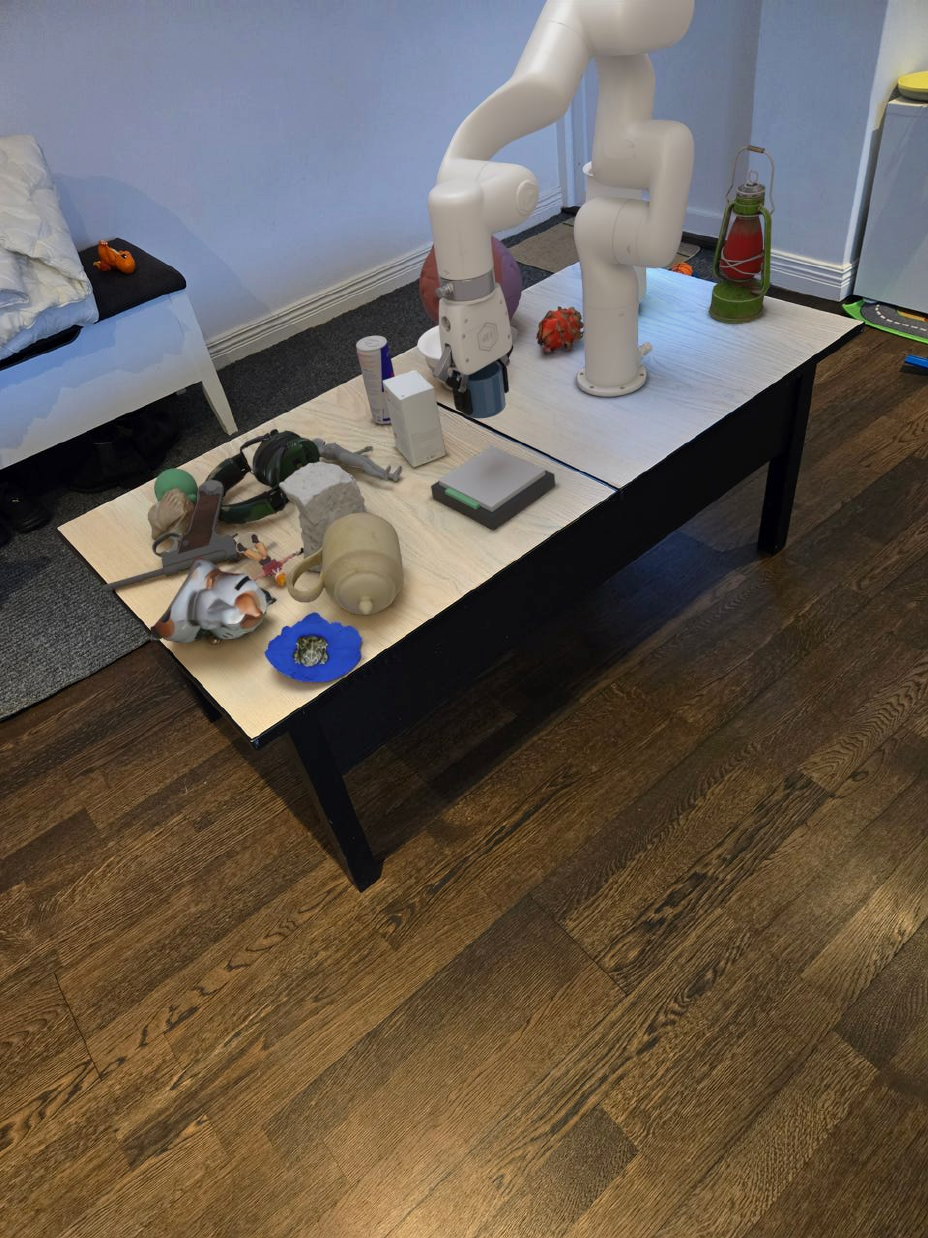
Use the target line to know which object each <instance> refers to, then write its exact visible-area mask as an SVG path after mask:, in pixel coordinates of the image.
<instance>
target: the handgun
mask: <svg viewBox="0 0 928 1238" xmlns="http://www.w3.org/2000/svg"><path fill="white" fill-rule="evenodd" d="M223 495H224V488H223V485H222V483H221V482H219V481H216V480H208V481H206V482H205V481H204V482H202V483H201V484H200V485H199V486H198V490H197V501H196V504H195V510H194V514H193V517H192V521H191V524H190V527H189V530H188V532H187V534H186V535H179V534H177V533H166V534H164V535H163V536H161V537H160V538H158V539H157V540H153V543H152V544H151V550H152V552H153V553H154V555H155V556H157V557H160V558H161V559H160V561H161V565H162V567H161V568H158V569H154V570H151V571H148V572H144V573H141V574H137V575H134V576H130V577H127V578H124V579H120V580H116V581H112V582H109V583H107V584H103V585H101V589H102V591H103V592H104V593H106V594H108V595H110V596H112V594H113V592H115V590H117V589H120V588H123V587H127V586H130V585H135V584H138V583H141V582H144V581H148V580H151V579H155V578H158V577H161V576H166V577H170V576H171V577H172V576H175V575H179V573H181V572H184V571H188V570H190V568H191V565H192V562H193V560H194V559H195V558H199V557H201V558H205V559H207V560H209V561H210V562H212V563H213V564H215V563H219V562H223V561H226V560H229V562H230V563H232V562H240V560H241V557H242V556H245V555H244V553H245V552H244V553H239V552H237V551H236V544H237V542H236V540H235V539H234V538H236V537H238V536H239V534H238V533H237V532H236V533H235V534H234V533H233V535H231V534H218V533H217V525H218V521H219V520H218V516H219V512H220V508H221V504H223V501H224V498H223ZM222 500H223V501H222ZM175 536H176V537H179V538H180V540H181V541H178V540H177V539H176V538H175ZM168 538H172V539H173V540H174V541H173V545H172V547H171V548H170V550H169V551H166V550H165V551H161V552H157V548H158V546H159V545H160V544H162V543H164V542H165V541H167V539H168ZM179 542H180V543H179Z"/></svg>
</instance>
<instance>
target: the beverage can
mask: <svg viewBox="0 0 928 1238" xmlns="http://www.w3.org/2000/svg"><path fill="white" fill-rule="evenodd" d="M355 345H356V346H355V347H356V353H357V358H358V362H359V366H360V370H361V374H362V379H363V384H364V388H365V392H366V396H367V401H368V405H369V409H370V413H371V418H372V420H373V421H374V422H375V423H376V424H381V425H389V424H391V420H390V415H389V410H388V405H387V401H386V396H385V392H384V387H383V380H387V379H389V378H392V377H395V376H396V375H395V371H394V370H395V369H394V367H393V362H392V356H391V352H390V351H391V350H390V348H389V347H390V346H389V344H388V340H387V338H386V337H384V336H381V335H371V336H369V335H368V336H365V337H363V338H361V339H359V340H358V341H357V342H356V344H355Z"/></svg>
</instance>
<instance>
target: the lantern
mask: <svg viewBox="0 0 928 1238" xmlns="http://www.w3.org/2000/svg"><path fill="white" fill-rule="evenodd" d="M745 150H747V151H750V152H753V153H759V154H765V155H766V156H767V157H768V158H769V161H770V163H771V164H770V165H771V176H770V185H769V187H770V188H769V197H768V198H769V200H770V204H771V208H772V210H771V211H770V210H769V209H768V208H767V207H766V206H765V202H766V201H765V200H766V189H767V186H766V185H764V184H762V183H759V182H758V179H759V173H758V171H755V170H752V169H751V170H750V171H748V176H747V179H748V181H749V182H747V183H743V184H739V185H738V186H737V188H736V194H735V198H731V199H730V200H729V198H728V195H729V193H730V192H731V190H732V188H733V187H734V181H735V173H736V168H737V162H738V158H739V156H740V154H741V152H742V151H745ZM751 173H754V174H756V178H755V179H756V180H753V181H752V179H751V178H750V177H751ZM774 174H775V163H774V159H773V157H772V155H771V154H770V153H769V152H768V151H767V150H766V148H763V147H759V146H755V145H751V144H748V145H747V146H743V147H742V148H740V149H739V150H738V151H737V153H736V154H735V157H734V163H733V169H732V175H731V182H730V186H729V188H728V189H727V191H726V192H725V194H724V198H725V200H726V205H725V208H724V212H723V217H722V221H721V225H720V231H719V235H718V240H717V244H716V247H715V253H714V257H713V261H712V272H713V277H715V278H716V279H717V280H718V282H717V283H716V284H715V285H714V286H713V287H712V291H711V299H710V306H709V308H708V314H709V315H710V317H711V318H712V319H714V320H716V321H719V322H722V323H726V324H745V323H751V322H753V321H755V320H758V319H759V318H761V317H762V316H763V315H764V311H765V306H764V301H765V300H764V299H765V295H766V294H767V292H768V290H769V288H770V286H771V274H772V272H771V262H772V261H771V260H772V259H771V258H772V226H773V225H772V222H773V218H772V214H773V213H774V212H775V210H776V208H775V207H776V206H775V204H774V200H773V185H774V178H775V177H774V176H775V175H774ZM732 214H733V215H735V219H734V220H733V223H732V225H731V227H730V230H729V232H728V229H729V225H730V220H731V216H732ZM760 216H763V221H764V224H763V225H764V226H763V228H764V229H762V223H761V218H760ZM727 234H728V235H727ZM721 272H722V273H721ZM758 275H760V282H759V281H757V278H756V277H755V276H758Z"/></svg>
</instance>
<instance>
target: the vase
mask: <svg viewBox="0 0 928 1238" xmlns="http://www.w3.org/2000/svg"><path fill="white" fill-rule="evenodd" d="M591 162H592V160H590V161H588V162H587V163H585V164H584V165H583V167H582V172H583V173H584V174H585V175H586V181H585V182H586V184H585V200H584V201H585V202H584V204H585V203H586V202H587V201H589V200H591V199H593V198H597V197H620V198H629V199H635V200H643V190H636V189H626V188H617V187H611V186H606V185H603V184H601V183H599V182H598V181H596V180H595V178H594V176H593V174H592V165H591ZM633 267H634V270H635V272H636V275H637V279H638V285H639V303H638V309H640V303H641V302H642V301H643V300H645V299H644V298H645V297H646V295H647V288H648V287H647V285H648V284H647V268H646V267H639V266H633Z"/></svg>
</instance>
